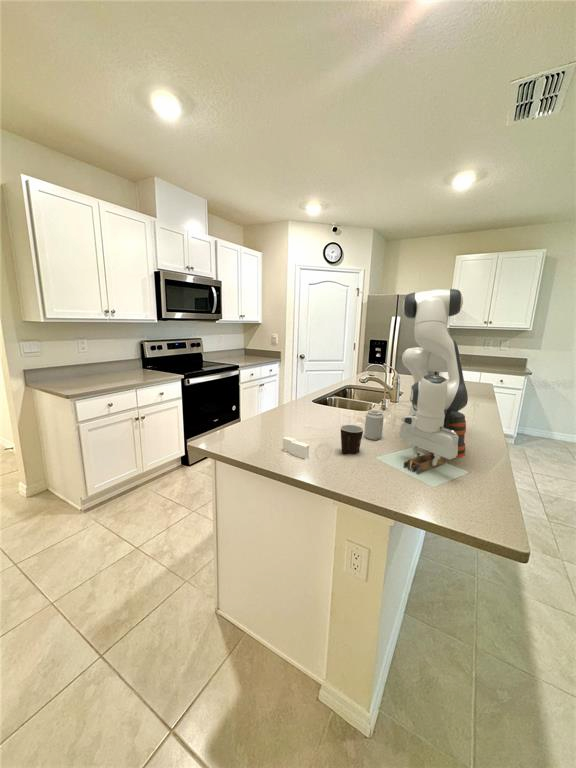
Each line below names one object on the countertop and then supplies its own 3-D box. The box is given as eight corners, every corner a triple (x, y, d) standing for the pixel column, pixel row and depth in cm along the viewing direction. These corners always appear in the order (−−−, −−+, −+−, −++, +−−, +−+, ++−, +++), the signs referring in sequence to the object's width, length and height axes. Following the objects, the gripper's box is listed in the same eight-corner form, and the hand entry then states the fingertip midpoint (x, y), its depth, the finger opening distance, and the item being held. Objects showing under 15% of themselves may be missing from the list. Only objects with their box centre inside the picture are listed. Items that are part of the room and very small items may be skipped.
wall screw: (410, 470, 104) (411, 460, 104) (411, 470, 104) (412, 461, 103) (409, 470, 104) (410, 460, 103) (410, 471, 104) (411, 461, 103)
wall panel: (409, 450, 124) (410, 447, 124) (468, 475, 104) (469, 472, 104) (374, 460, 113) (374, 457, 113) (432, 490, 94) (433, 487, 94)
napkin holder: (315, 461, 112) (316, 446, 111) (285, 463, 110) (286, 448, 109) (303, 445, 127) (304, 432, 126) (276, 447, 124) (277, 433, 123)
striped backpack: (468, 468, 109) (476, 414, 105) (423, 459, 115) (429, 408, 111) (462, 448, 126) (469, 401, 122) (424, 442, 132) (429, 397, 128)
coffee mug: (347, 446, 125) (348, 423, 123) (365, 453, 119) (367, 428, 117) (329, 454, 117) (331, 429, 115) (348, 462, 111) (350, 435, 109)
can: (379, 435, 140) (382, 409, 137) (383, 441, 132) (385, 414, 130) (363, 434, 140) (365, 408, 138) (365, 440, 133) (367, 413, 131)
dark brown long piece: (431, 458, 114) (432, 452, 114) (445, 464, 110) (446, 457, 109) (403, 467, 106) (404, 460, 105) (417, 474, 101) (417, 467, 101)
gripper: (464, 430, 97) (458, 471, 100) (410, 414, 115) (406, 449, 117) (453, 434, 94) (447, 475, 97) (398, 416, 111) (394, 452, 114)
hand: (424, 461), depth 107 cm, fingers closed on dark brown long piece, 5 cm apart
